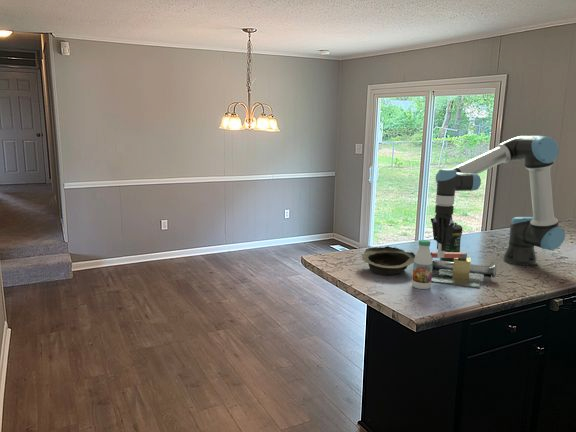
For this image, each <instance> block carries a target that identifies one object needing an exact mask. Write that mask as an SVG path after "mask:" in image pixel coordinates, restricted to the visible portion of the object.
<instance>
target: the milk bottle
mask: <svg viewBox="0 0 576 432" xmlns="http://www.w3.org/2000/svg"><path fill="white" fill-rule="evenodd" d="M430 247H431V241H430V240H428V239H420V240H418V250H417V251H416V254H414V255H415V258H414V263H412V264H413V266H412V278H411V279H412V280H411V285H412V287H413V288H415V289H419V290H429V289H431V287H432V282H431V279H432V264H433V260H434V259H433V258H432V256H431V251H430Z"/></svg>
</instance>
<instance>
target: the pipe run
mask: <svg viewBox="0 0 576 432" xmlns="http://www.w3.org/2000/svg"><path fill="white" fill-rule="evenodd" d="M432 260H433V264H432V279H431V283H436V284H442V285H451V286H458V287H466V288H473V289H481V279H480V277H481V275H483V277H482V280H483V281H482V282H484V283H489V284H491V282H492V278H493V279H495V278H496V274H497V265H496V264H493V265H492V266H489V265H482V264H481V265H480V264H471V260H472V259H471V257H467V259H466V260H462V259H458V258H454V262H448V261H443V260H438V259H432Z"/></svg>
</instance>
